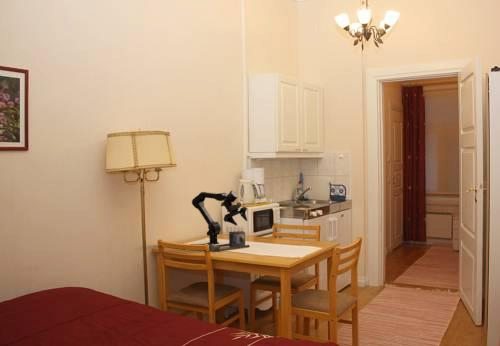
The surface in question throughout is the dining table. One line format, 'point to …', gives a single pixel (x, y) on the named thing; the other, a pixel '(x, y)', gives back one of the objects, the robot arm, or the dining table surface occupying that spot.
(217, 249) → the guide channel
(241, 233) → the small box
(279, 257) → the dining table surface
